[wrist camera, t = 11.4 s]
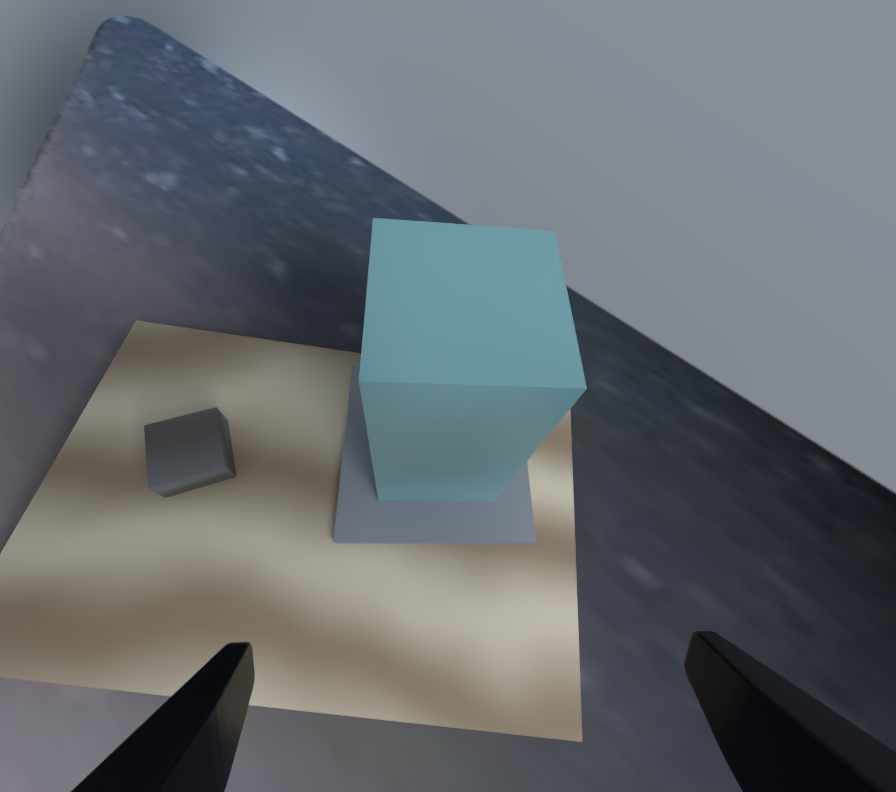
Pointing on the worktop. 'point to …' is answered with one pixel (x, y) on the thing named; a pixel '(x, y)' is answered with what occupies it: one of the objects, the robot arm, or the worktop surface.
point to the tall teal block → (463, 356)
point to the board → (277, 554)
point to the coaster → (420, 502)
